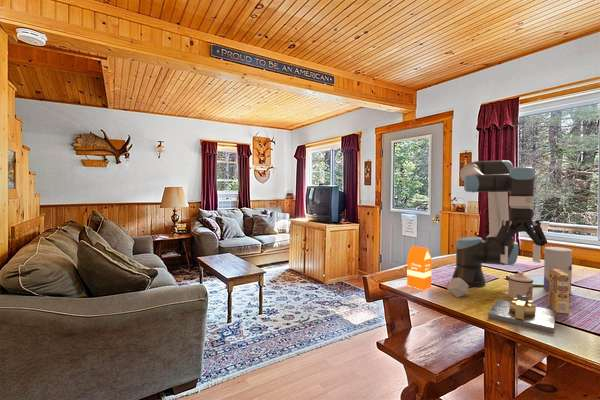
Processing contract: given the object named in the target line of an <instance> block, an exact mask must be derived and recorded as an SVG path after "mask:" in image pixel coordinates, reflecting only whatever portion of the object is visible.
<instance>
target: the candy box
mask: <svg viewBox="0 0 600 400" xmlns="http://www.w3.org/2000/svg"><path fill="white" fill-rule="evenodd" d="M548 306H550V308H552V310H555V311H556V313H559V314H566V315H567V314H569V313H570V293H569V275H568V274H566V273H565V272H563V271H561V270H557V269H549V291H548Z"/></svg>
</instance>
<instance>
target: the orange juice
mask: <svg viewBox="0 0 600 400" xmlns="http://www.w3.org/2000/svg"><path fill="white" fill-rule="evenodd" d="M406 258H407V261H406V263H407V265H406V267H407V268H406V275H407V276H406V286H407V285H409V286H412V287H416V288H419V289H422V290H421V291H423V290H424V291H426V290H428V289H427V288H429V289H431V288H432V257H431V254H430V250H429V248H427V247H420V246H416V245H415V246H414V245H411V247H410V250H409V252H408V255H407V257H406ZM430 287H431V288H430ZM419 289H418V290H419ZM425 289H426V290H425Z"/></svg>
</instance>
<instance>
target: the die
mask: <svg viewBox="0 0 600 400" xmlns="http://www.w3.org/2000/svg"><path fill="white" fill-rule="evenodd" d="M469 287H470V286H469V285H468V284H467V283H466V282H465V281H464V280H462V279H461V278H459V277H458V278H453V279H452V278H451V279H450V280H449V281H448V284H447V290H448V291H449V292H450V293H451V294H452V295H453V296H455V297H456V298H460V297H463V296H465V295H466V294H468V292H469Z"/></svg>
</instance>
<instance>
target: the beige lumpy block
mask: <svg viewBox="0 0 600 400" xmlns="http://www.w3.org/2000/svg"><path fill="white" fill-rule="evenodd" d="M509 302H510V310H511V311H512V312H515V318H518V319H522V320H524V317H525V315H535V314H536V307H537V306H536V305H535V304H534V301H533V300H532V301H528V304H526V305H525V303H526V301H520V300H517V298H513V299H512V300H509Z"/></svg>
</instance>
